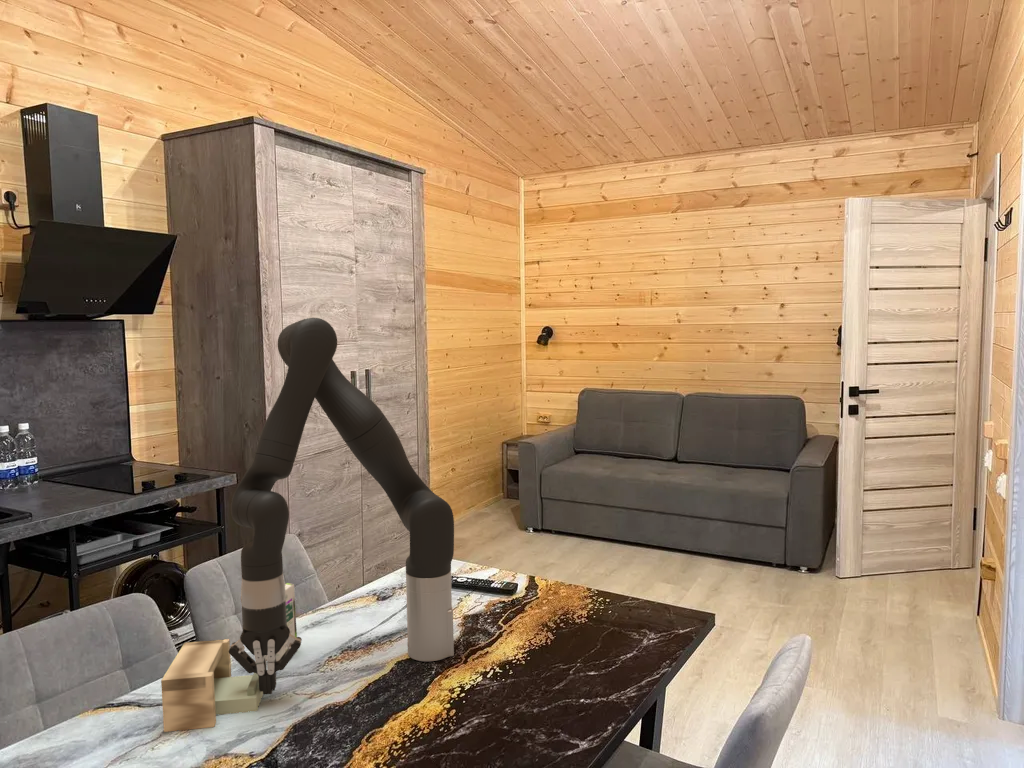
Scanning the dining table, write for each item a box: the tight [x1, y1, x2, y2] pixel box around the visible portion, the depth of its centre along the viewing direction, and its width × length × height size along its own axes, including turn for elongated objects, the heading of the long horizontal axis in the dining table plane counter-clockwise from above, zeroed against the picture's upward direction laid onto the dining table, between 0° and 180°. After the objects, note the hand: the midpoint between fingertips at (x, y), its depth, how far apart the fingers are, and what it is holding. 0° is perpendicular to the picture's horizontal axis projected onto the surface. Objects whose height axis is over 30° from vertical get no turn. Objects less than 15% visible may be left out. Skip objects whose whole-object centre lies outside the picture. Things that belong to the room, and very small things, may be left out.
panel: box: [214, 673, 263, 716], centre depth 135 cm, size 11×9×4 cm
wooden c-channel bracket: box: [160, 638, 232, 733], centre depth 133 cm, size 8×15×9 cm, turn 10°
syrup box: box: [265, 582, 298, 662], centre depth 153 cm, size 6×6×14 cm
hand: (267, 692), depth 135 cm, fingers closed
